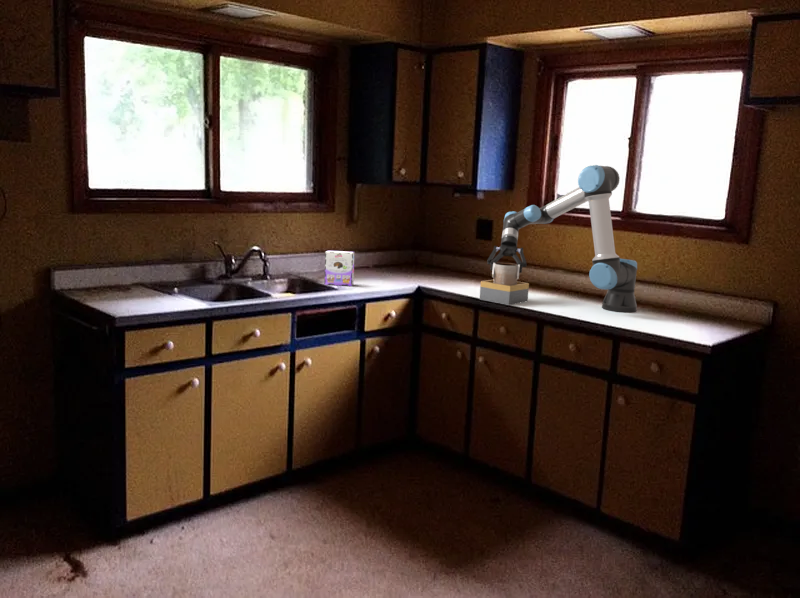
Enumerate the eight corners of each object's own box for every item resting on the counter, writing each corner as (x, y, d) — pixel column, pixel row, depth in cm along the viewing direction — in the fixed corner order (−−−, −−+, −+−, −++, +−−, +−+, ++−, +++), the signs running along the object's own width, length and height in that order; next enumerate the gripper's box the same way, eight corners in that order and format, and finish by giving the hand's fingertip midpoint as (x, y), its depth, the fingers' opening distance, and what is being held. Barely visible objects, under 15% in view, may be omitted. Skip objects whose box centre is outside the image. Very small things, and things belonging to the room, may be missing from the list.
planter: (498, 282, 352) (500, 261, 350) (520, 284, 346) (521, 264, 345) (489, 284, 343) (490, 263, 341) (511, 287, 337) (512, 266, 336)
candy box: (353, 284, 368) (355, 251, 366) (351, 286, 363) (353, 252, 360) (326, 282, 370) (327, 249, 367) (323, 284, 364) (325, 251, 361)
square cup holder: (527, 301, 347) (529, 283, 345) (508, 304, 335) (510, 286, 333) (498, 296, 357) (500, 278, 355) (479, 299, 345) (480, 281, 344)
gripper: (533, 246, 354) (530, 283, 342) (485, 243, 359) (480, 279, 346) (534, 236, 348) (531, 273, 336) (485, 233, 352) (479, 269, 340)
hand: (505, 276), depth 341 cm, fingers closed on planter, 11 cm apart
